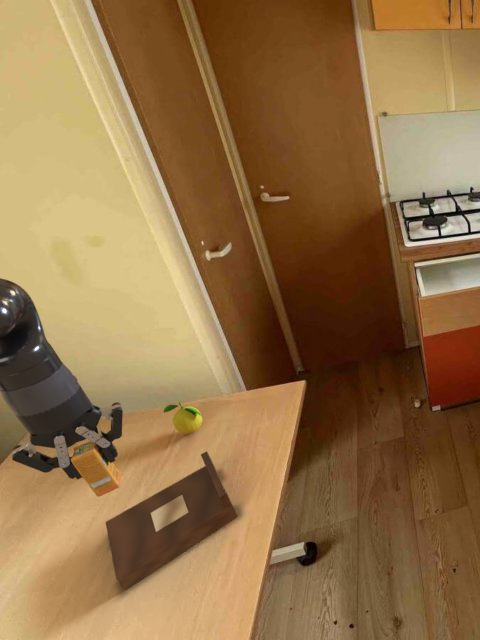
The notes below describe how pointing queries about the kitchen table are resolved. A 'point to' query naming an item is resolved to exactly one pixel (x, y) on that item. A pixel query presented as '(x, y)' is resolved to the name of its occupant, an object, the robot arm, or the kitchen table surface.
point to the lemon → (185, 418)
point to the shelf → (168, 524)
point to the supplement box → (96, 468)
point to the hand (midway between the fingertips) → (96, 466)
